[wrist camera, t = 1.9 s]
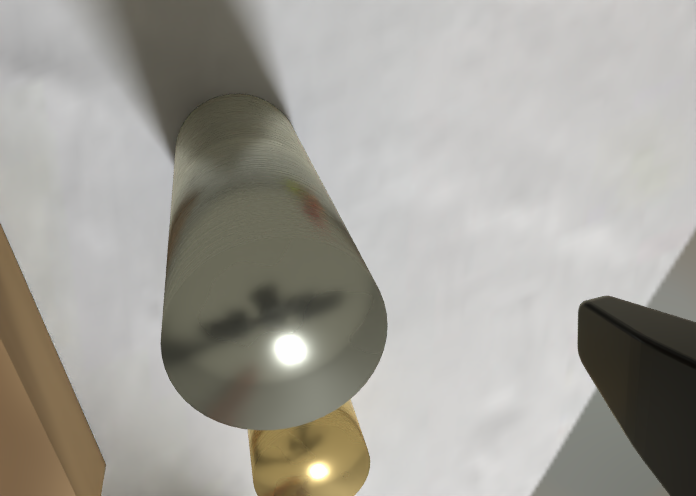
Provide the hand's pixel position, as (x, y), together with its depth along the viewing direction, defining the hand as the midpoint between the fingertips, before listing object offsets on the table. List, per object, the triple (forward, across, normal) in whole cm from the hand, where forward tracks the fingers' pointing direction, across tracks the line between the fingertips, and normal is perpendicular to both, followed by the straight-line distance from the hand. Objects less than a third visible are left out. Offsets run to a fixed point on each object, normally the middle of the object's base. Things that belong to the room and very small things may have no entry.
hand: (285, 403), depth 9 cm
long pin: (+12, 0, 0) cm, 12 cm away
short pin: (+12, 0, +9) cm, 15 cm away
